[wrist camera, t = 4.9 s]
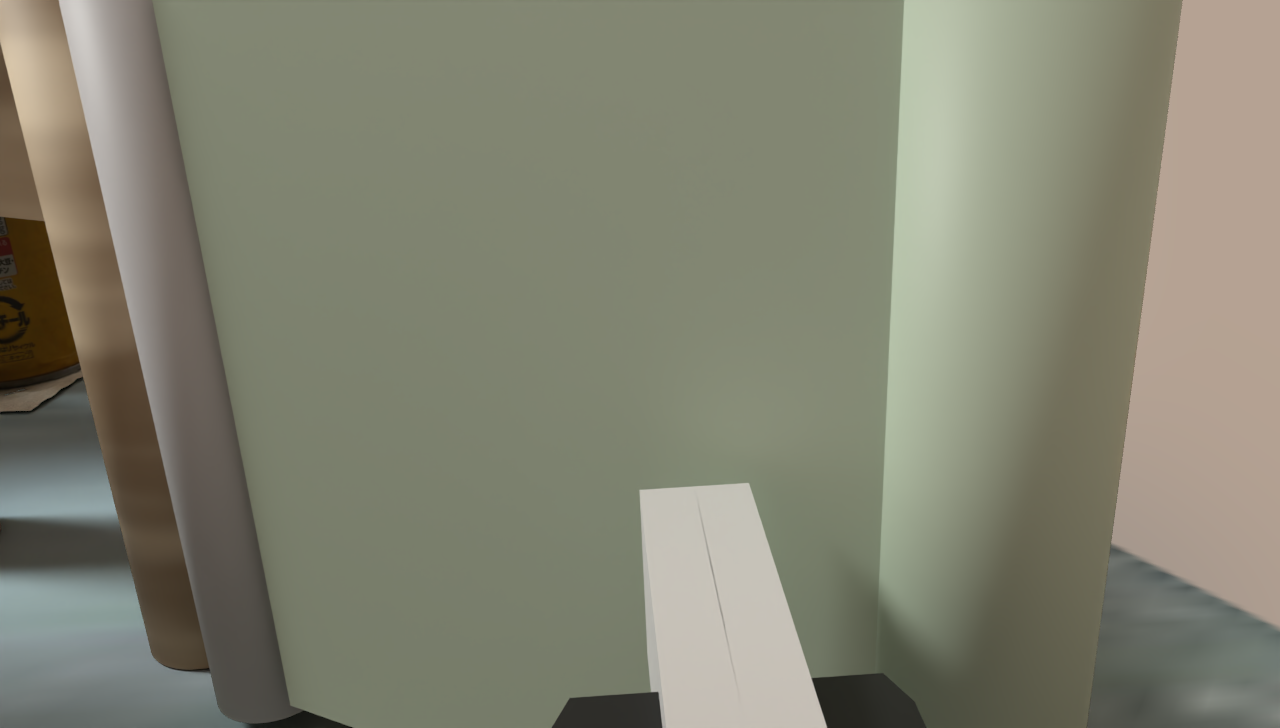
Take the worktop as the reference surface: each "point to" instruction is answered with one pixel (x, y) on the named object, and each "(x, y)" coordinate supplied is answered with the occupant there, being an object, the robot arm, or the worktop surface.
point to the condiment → (32, 319)
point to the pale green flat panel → (631, 329)
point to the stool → (93, 307)
